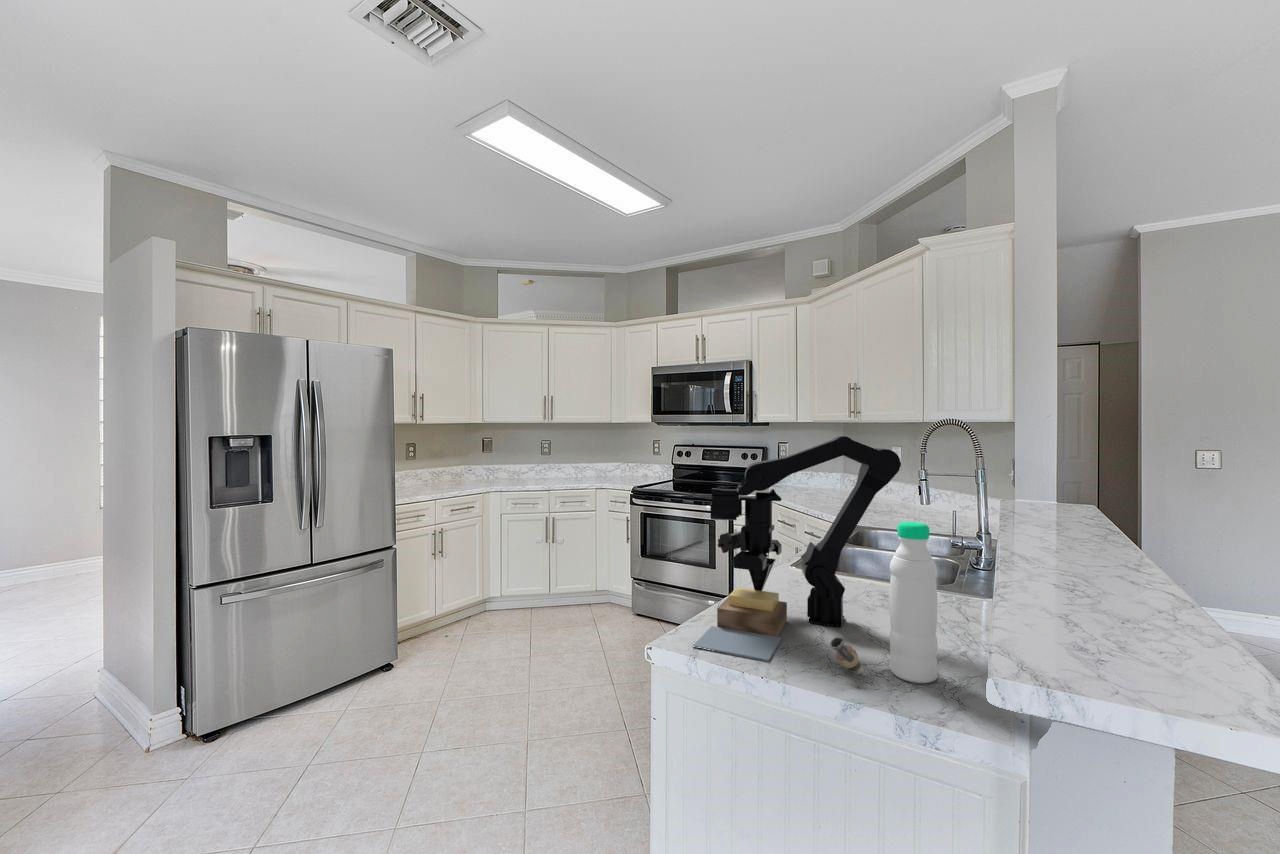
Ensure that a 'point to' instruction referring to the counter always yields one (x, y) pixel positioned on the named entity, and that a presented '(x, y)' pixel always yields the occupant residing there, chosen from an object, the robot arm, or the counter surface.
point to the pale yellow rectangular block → (754, 599)
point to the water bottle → (913, 606)
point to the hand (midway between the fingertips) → (758, 593)
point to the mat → (739, 643)
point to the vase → (847, 656)
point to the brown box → (752, 618)
